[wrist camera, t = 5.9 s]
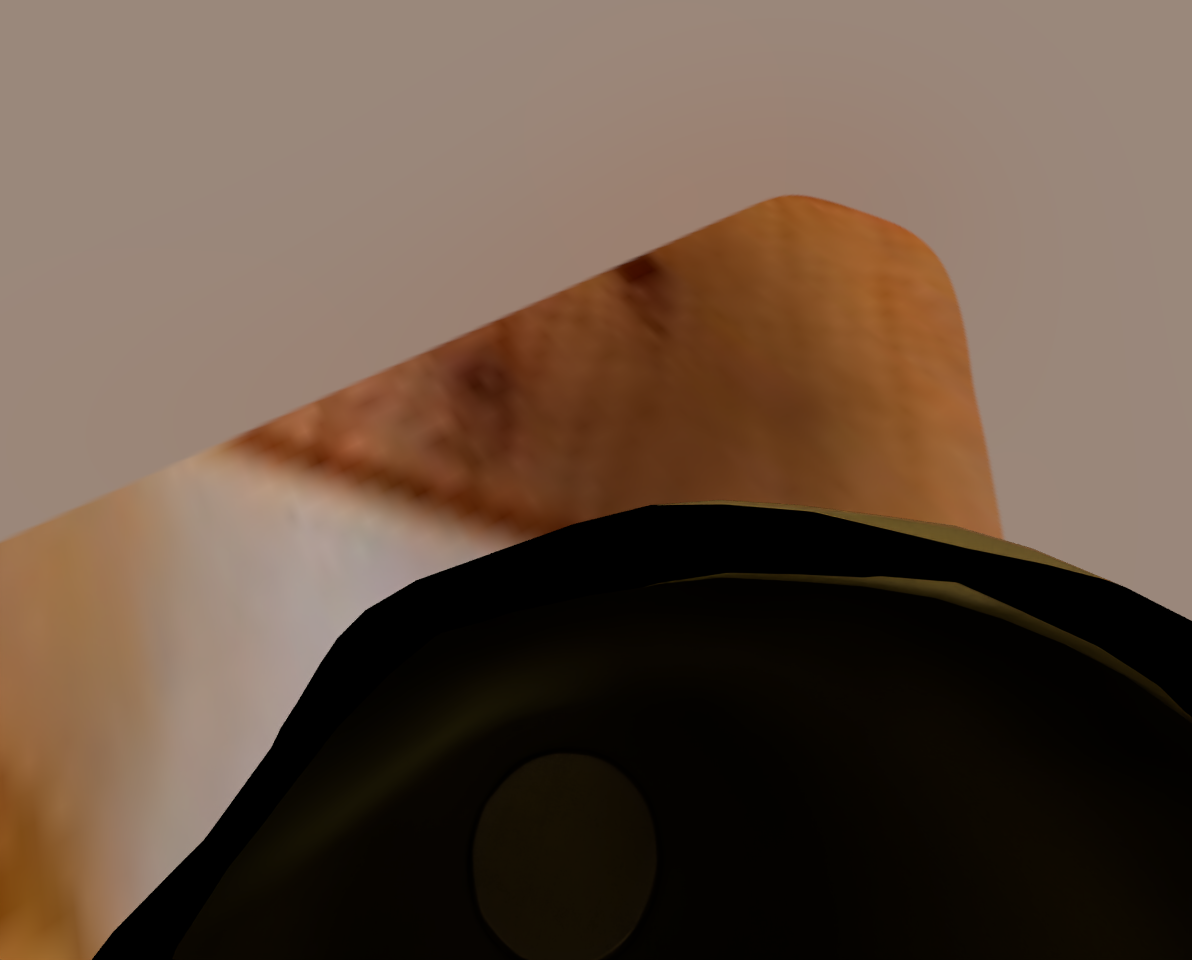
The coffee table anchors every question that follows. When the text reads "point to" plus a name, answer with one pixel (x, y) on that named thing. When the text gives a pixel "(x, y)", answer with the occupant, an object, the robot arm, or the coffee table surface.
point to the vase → (718, 759)
